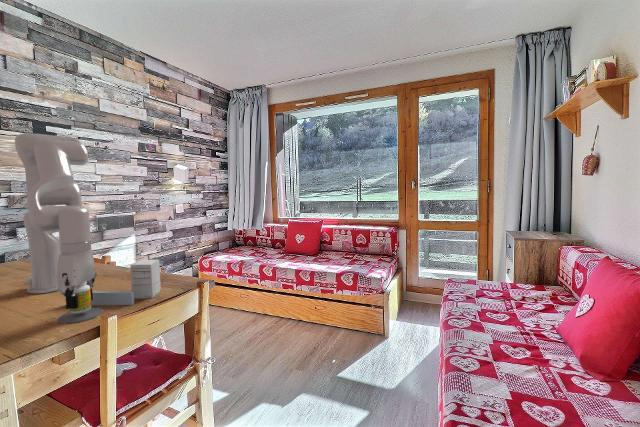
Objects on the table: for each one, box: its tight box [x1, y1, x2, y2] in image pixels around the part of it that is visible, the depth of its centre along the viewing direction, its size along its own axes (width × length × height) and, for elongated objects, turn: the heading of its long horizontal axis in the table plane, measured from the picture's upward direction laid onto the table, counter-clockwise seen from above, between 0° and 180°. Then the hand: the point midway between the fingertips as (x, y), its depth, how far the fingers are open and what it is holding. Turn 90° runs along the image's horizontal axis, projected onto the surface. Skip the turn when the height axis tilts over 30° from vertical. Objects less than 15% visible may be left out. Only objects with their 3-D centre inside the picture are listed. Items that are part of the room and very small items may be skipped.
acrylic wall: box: [91, 290, 135, 306], centre depth 105 cm, size 22×1×4 cm, turn 92°
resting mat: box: [57, 306, 103, 324], centre depth 96 cm, size 11×11×1 cm
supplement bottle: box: [69, 281, 92, 313], centre depth 96 cm, size 5×5×10 cm
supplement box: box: [129, 259, 162, 299], centre depth 114 cm, size 7×7×13 cm
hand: (80, 303), depth 96 cm, fingers closed on supplement bottle, 5 cm apart
